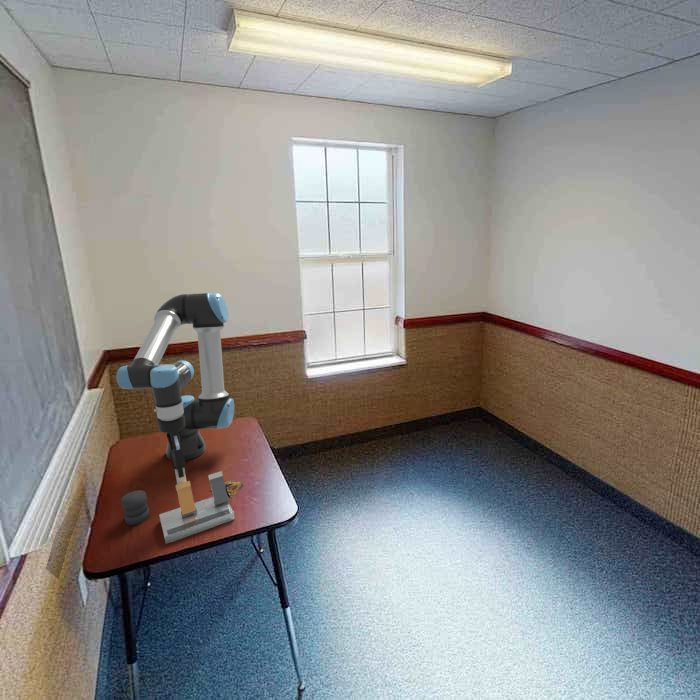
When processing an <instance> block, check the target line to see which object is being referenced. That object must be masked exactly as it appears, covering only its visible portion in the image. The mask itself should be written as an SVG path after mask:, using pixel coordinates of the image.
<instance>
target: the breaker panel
mask: <svg viewBox="0 0 700 700" xmlns="http://www.w3.org/2000/svg"><path fill="white" fill-rule="evenodd" d="M194 504H195V507H196V509H197V512H195V513H192V514H189V515H186V516H183V517H182V516H181V508H180V507H178V508H174V509H171V510H168V511H166V512H162V513H160V514H158V515H159V522H160V524H161V529H162V534H163V538H164V541H165V545H167V544H171V543H173V542H177V541H179V540H182V539H184V538H187V537H189V536H193V535H195V534H199V533H200V532H204V531H207V530H209V529H211V528H215V527H217V526H220V525H223V524H226V523H228V522H231V521H234V520H235V511H234V510H233V509H232V506H231V504H230V502H229V501H227V502H224V503H221V504H219V505H216V506H215V504H214V498H213V496H211V497H208V498H205V499H202V500H200V501H196V502H194Z"/></svg>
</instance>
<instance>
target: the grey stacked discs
mask: <svg viewBox="0 0 700 700" xmlns="http://www.w3.org/2000/svg"><path fill="white" fill-rule="evenodd" d="M120 502H121V503H120V504H121V507H122V510H123V511H124V512H123V513H124V514H123V517H124V521H125V524H126V525H128V526H136V525H139V524H142V523H145V522H146V521H147V520H148V519H149V518H150V516H151V513H150V508H149V505H148V503H147V502H148V499H147V492H146V491H145V490H134V491H131V492H128V493H127V494H125V495H123V496H122V497H121V499H120Z"/></svg>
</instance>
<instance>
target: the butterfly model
mask: <svg viewBox="0 0 700 700" xmlns="http://www.w3.org/2000/svg"><path fill="white" fill-rule="evenodd" d="M224 484H225V488H226V492H227V495H229V496H228V497H229V498H230V499H232V498H233V497H234V496H235V495H236V494H237V493H238V492H239V491H240V490H241V489H242V488H244V487H245V484H244V482H241V481H235V480H234V479H230V480H227V481H224ZM208 491H209V492H210V491H211V492H212V489H211V488H210V489H208Z"/></svg>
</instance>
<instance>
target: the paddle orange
mask: <svg viewBox="0 0 700 700" xmlns="http://www.w3.org/2000/svg"><path fill="white" fill-rule="evenodd" d="M186 481H187V480H186ZM191 485H192V484H191V480H188V481H187V482H184V483H181V484H177V483H176V484H175V490H176V493H177V499H178V503H179V508H181V516H182V517H183V516H186V515H189V514H192V513H195V512H197V509H196V507H195V504H194V503H195V500H194V496H193V491H192V486H191Z"/></svg>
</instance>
